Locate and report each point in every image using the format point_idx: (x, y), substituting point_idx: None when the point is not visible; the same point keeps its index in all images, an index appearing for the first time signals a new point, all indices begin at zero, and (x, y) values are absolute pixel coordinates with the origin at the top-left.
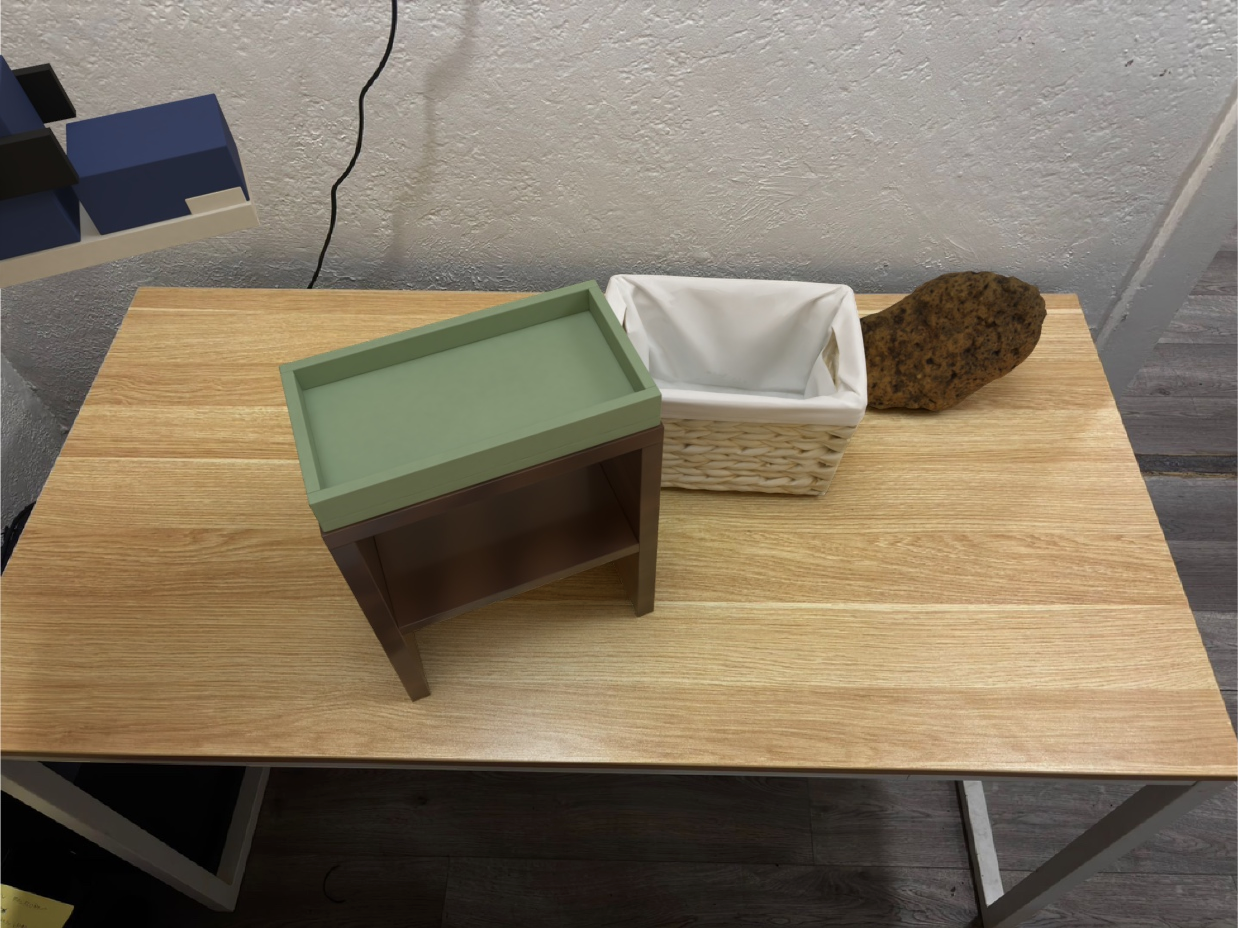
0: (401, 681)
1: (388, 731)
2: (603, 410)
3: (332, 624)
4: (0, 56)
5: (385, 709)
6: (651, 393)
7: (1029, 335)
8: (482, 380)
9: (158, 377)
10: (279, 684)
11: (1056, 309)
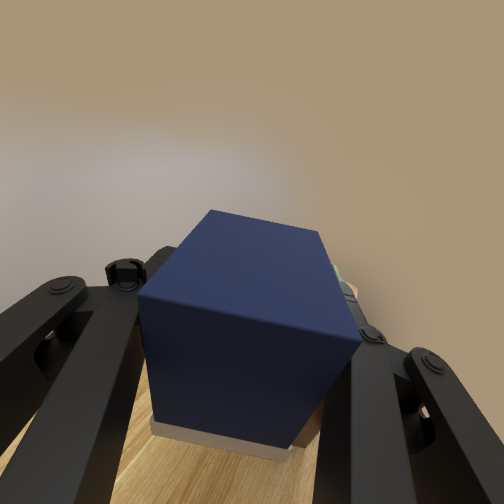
0: (312, 439)
1: (315, 467)
2: (339, 274)
3: (253, 472)
4: (215, 210)
5: (305, 463)
6: (334, 265)
7: None
8: None
9: None
10: None
11: None
